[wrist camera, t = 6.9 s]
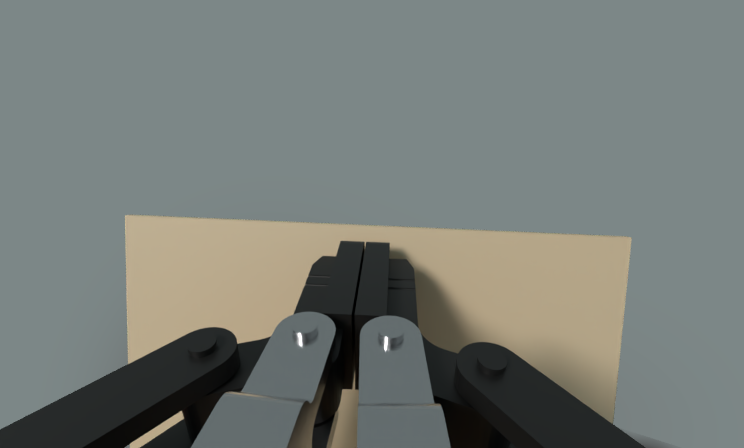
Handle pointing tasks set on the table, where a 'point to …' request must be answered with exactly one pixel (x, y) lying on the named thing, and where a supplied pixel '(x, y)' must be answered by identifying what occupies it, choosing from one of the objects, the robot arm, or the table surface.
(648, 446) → the table surface
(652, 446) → the table surface
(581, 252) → the near flap
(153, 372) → the robot arm
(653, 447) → the table surface
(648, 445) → the table surface
